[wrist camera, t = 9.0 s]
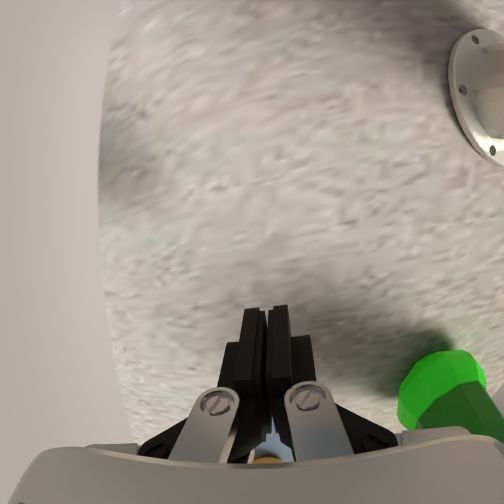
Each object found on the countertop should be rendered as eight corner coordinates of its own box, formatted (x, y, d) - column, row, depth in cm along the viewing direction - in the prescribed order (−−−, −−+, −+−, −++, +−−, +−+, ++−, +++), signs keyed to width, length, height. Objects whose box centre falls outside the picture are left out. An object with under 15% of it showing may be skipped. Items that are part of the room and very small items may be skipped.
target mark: (350, 383, 27) (350, 384, 27) (343, 453, 32) (343, 454, 32) (210, 398, 29) (210, 399, 28) (236, 464, 33) (236, 465, 33)
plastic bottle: (366, 398, 28) (420, 614, 5) (425, 320, 25) (555, 553, 1) (428, 408, 29) (492, 575, 6) (481, 341, 26) (590, 508, 2)
